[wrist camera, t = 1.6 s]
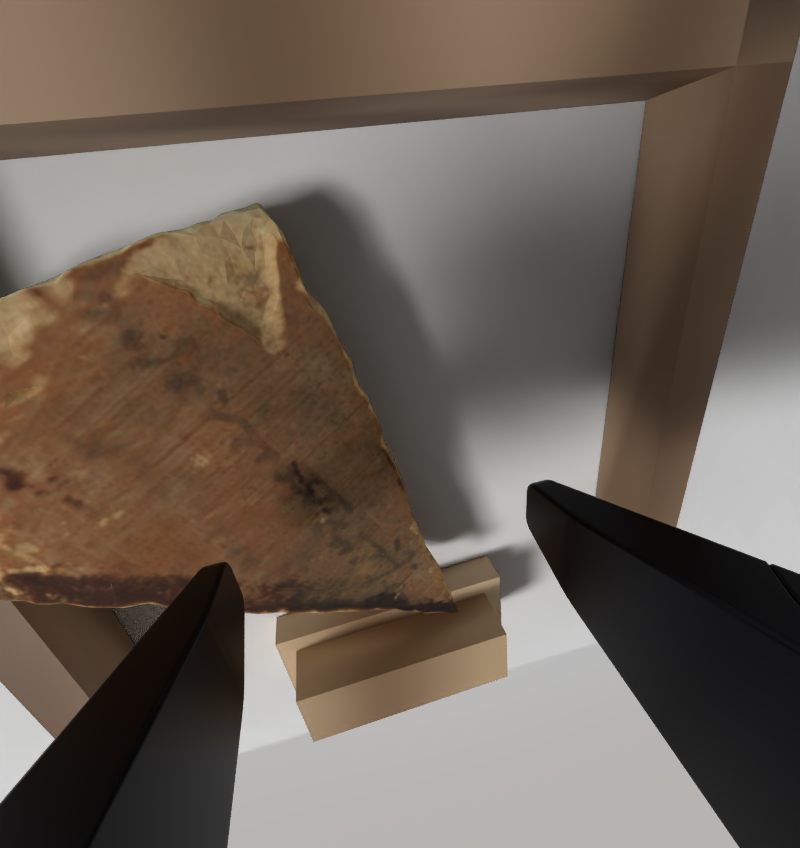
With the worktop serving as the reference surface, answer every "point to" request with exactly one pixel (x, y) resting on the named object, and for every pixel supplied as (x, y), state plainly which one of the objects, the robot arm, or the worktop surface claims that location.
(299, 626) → the lower oak offcut
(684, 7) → the walnut open-sided frame
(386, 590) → the shard
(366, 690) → the upper oak offcut
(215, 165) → the worktop surface
